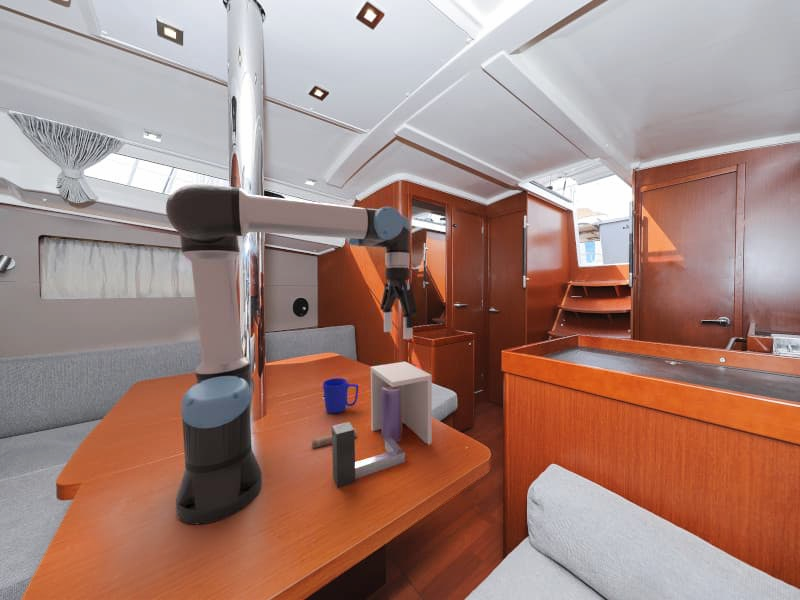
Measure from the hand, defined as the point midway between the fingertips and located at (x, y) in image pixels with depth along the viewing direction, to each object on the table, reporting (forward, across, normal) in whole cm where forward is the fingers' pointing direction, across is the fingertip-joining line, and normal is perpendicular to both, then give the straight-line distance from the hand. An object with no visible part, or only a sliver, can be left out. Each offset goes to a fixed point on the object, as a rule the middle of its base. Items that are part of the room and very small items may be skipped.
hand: (397, 335), depth 90 cm
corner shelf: (+28, -9, +4) cm, 29 cm away
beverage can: (+28, -8, +6) cm, 30 cm away
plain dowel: (+28, -2, +21) cm, 35 cm away
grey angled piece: (+28, -17, +17) cm, 36 cm away
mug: (+28, +16, +14) cm, 35 cm away
